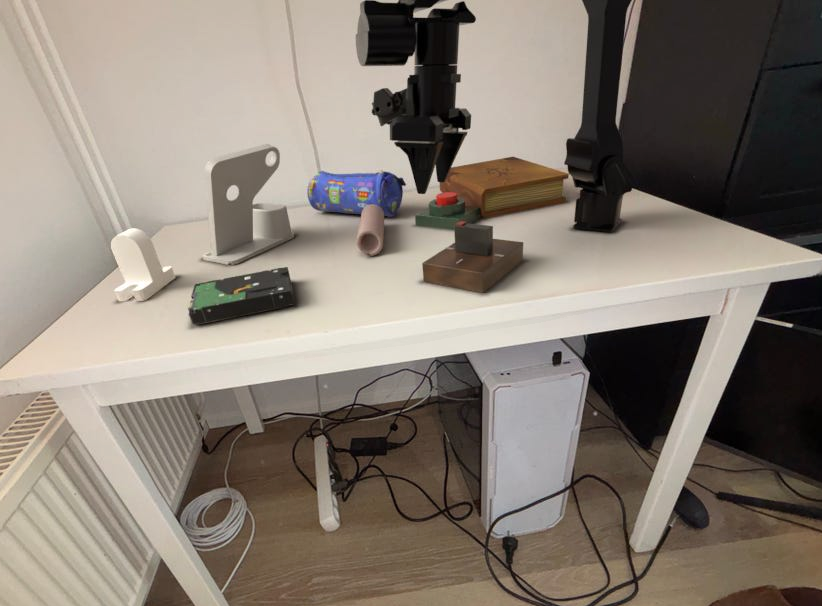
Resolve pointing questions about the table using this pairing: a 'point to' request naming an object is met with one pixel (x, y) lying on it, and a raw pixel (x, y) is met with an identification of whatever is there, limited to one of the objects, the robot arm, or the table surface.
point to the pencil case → (355, 192)
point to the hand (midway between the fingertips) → (431, 187)
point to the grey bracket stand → (243, 206)
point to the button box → (447, 215)
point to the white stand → (138, 266)
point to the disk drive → (240, 295)
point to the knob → (473, 238)
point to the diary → (505, 185)
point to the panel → (472, 266)
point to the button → (446, 198)
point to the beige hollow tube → (371, 230)
